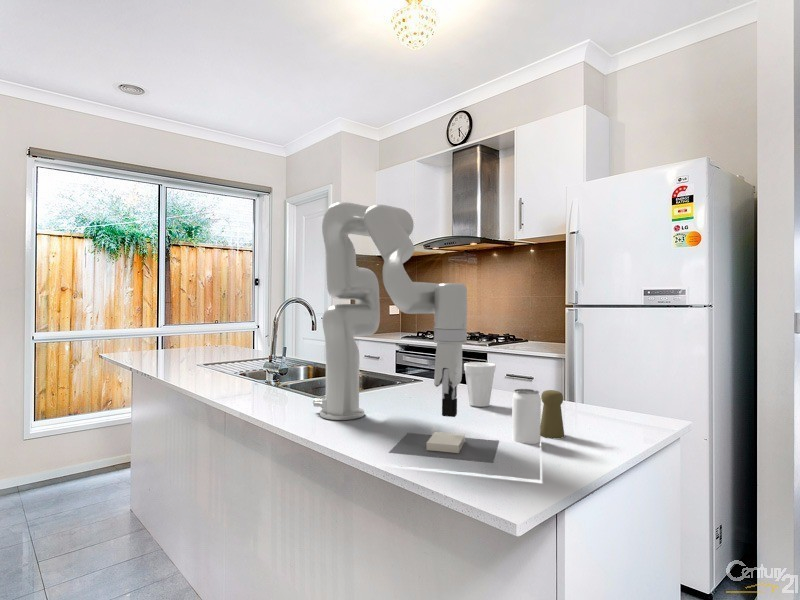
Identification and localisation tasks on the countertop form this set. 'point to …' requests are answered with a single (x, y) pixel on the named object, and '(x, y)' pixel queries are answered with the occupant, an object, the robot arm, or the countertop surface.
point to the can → (526, 416)
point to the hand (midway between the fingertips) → (449, 415)
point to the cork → (552, 415)
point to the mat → (469, 451)
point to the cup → (479, 382)
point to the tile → (446, 442)
